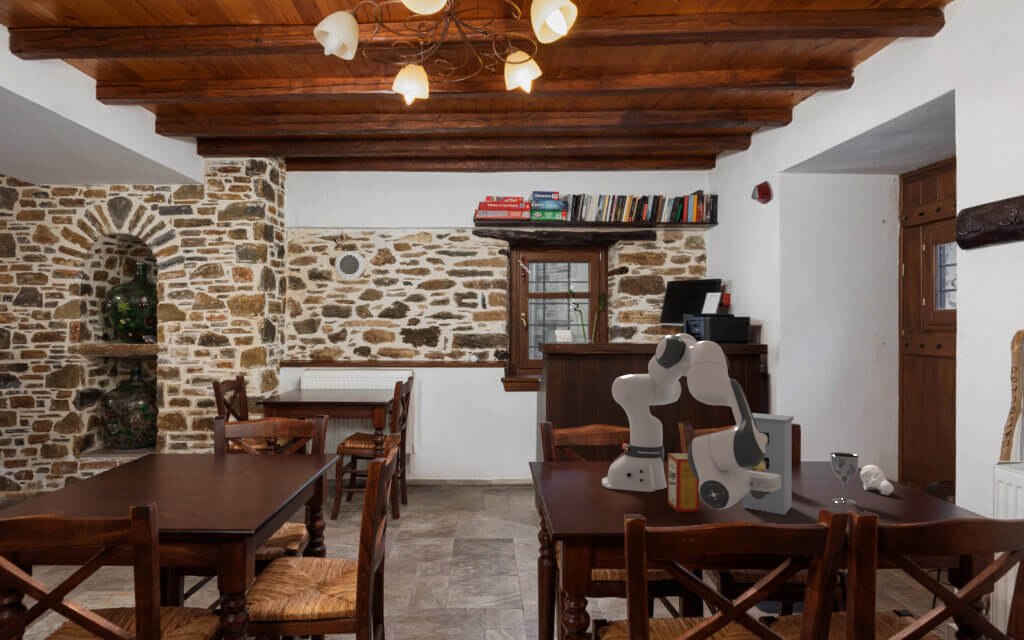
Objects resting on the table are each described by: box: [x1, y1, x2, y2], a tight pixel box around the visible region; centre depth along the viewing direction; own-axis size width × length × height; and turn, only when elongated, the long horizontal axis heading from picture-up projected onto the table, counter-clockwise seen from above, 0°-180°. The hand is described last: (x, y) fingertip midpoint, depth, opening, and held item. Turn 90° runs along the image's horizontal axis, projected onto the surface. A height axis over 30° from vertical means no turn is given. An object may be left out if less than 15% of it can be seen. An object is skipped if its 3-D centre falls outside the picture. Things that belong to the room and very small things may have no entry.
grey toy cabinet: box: [742, 412, 795, 516], centre depth 192 cm, size 11×13×28 cm
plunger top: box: [760, 433, 769, 445], centre depth 188 cm, size 10×4×4 cm, turn 145°
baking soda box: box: [667, 452, 700, 513], centre depth 191 cm, size 10×6×16 cm
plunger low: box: [751, 490, 766, 499], centre depth 186 cm, size 10×4×4 cm, turn 145°
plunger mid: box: [751, 457, 769, 472], centre depth 186 cm, size 10×4×4 cm, turn 145°
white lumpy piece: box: [859, 464, 894, 497], centre depth 211 cm, size 6×8×12 cm
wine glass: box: [829, 451, 860, 506], centre depth 199 cm, size 8×8×15 cm
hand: (747, 472), depth 172 cm, fingers closed
